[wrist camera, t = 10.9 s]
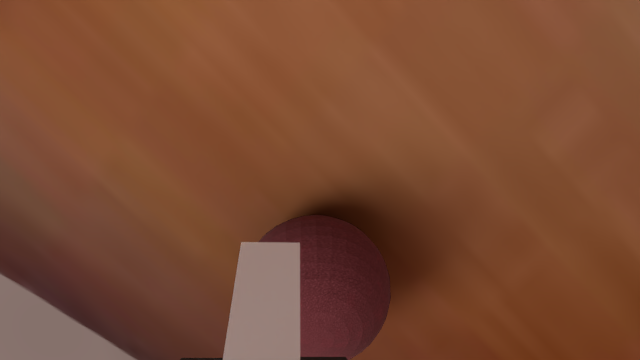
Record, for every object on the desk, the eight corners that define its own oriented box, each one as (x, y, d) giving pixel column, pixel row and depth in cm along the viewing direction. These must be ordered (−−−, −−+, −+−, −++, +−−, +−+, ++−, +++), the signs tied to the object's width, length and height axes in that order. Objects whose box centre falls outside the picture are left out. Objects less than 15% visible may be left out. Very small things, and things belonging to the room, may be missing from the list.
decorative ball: (231, 202, 42) (213, 289, 33) (370, 177, 42) (389, 258, 33) (263, 311, 47) (255, 413, 38) (389, 289, 46) (410, 388, 37)
